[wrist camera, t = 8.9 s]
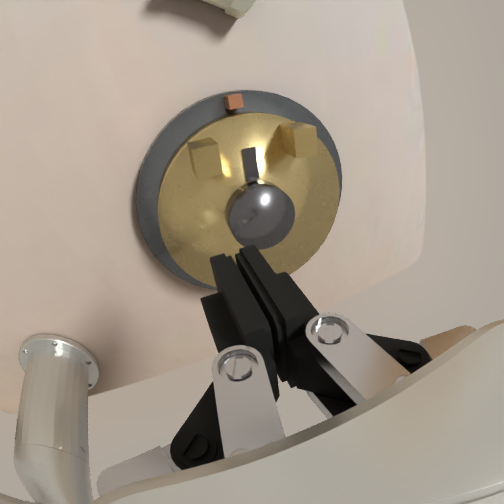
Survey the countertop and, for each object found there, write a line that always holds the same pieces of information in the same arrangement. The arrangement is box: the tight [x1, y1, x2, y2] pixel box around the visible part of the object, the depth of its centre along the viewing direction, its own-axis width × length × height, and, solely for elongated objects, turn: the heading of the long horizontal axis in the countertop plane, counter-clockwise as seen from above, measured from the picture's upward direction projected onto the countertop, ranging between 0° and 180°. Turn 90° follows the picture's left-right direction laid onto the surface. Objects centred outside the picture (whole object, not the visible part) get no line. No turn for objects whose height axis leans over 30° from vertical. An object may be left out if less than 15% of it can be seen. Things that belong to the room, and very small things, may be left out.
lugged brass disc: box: [157, 111, 340, 287], centre depth 28 cm, size 18×18×6 cm
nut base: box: [137, 90, 342, 289], centre depth 31 cm, size 22×22×3 cm
